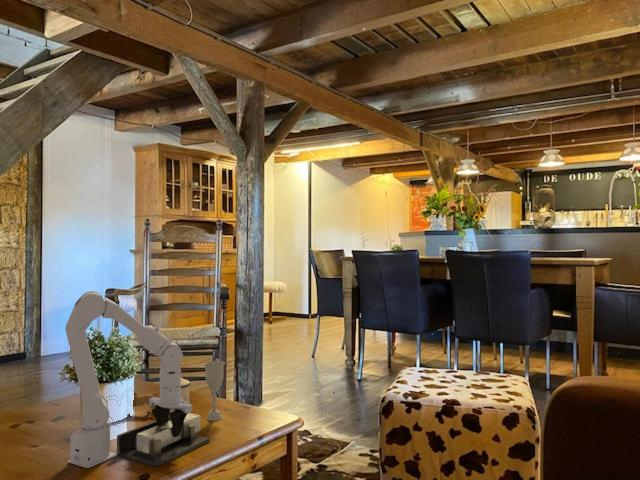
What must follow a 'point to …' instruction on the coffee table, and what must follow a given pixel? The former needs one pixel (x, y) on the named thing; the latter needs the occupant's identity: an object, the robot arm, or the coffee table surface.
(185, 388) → the teacup with lid
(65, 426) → the coffee table surface
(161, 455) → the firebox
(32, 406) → the coffee table surface
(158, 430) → the cream rectangular block
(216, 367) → the chalice
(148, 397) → the lion figurine
